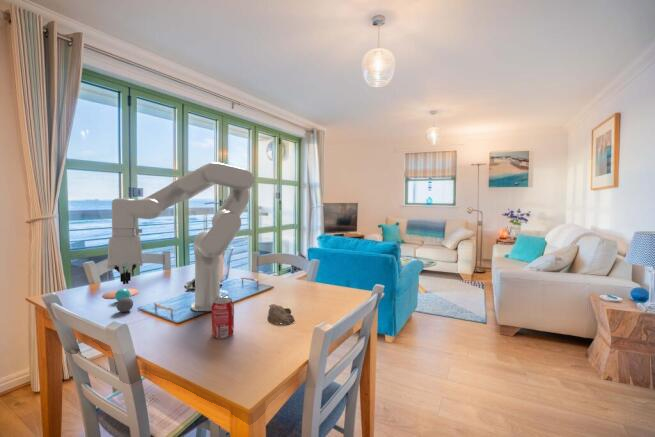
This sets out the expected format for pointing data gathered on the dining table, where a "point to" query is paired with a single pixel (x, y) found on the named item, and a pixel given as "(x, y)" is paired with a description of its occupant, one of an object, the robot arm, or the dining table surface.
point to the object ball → (122, 294)
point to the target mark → (112, 294)
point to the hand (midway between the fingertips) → (125, 283)
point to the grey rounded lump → (124, 304)
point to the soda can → (222, 317)
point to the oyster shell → (279, 315)
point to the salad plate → (191, 285)
